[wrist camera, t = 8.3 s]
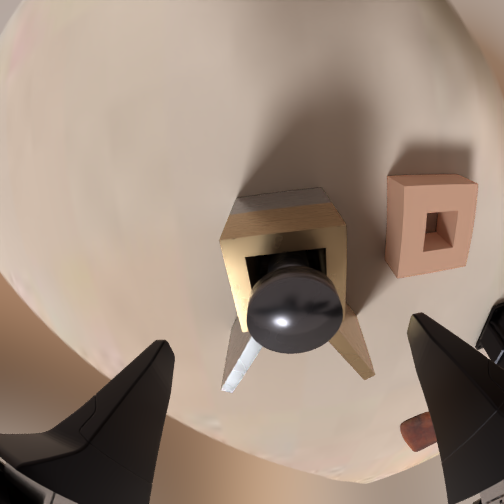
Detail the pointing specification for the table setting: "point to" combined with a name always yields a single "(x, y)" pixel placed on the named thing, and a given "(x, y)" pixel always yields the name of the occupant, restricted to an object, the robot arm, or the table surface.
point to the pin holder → (414, 222)
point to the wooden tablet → (418, 432)
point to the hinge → (279, 241)
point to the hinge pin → (293, 306)
